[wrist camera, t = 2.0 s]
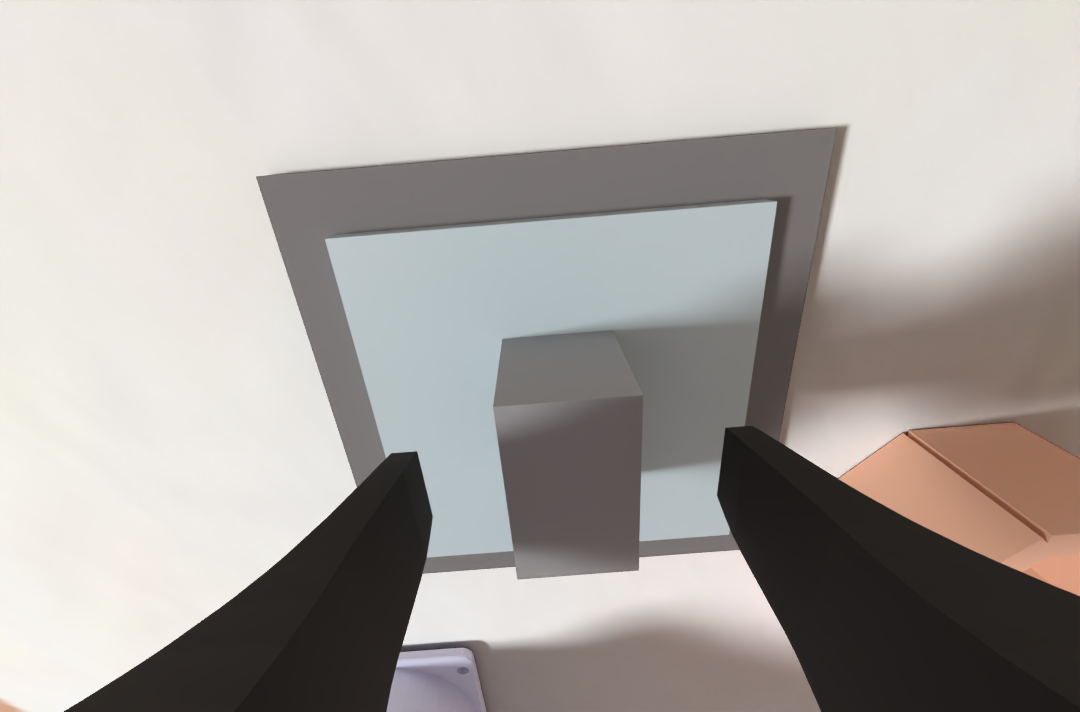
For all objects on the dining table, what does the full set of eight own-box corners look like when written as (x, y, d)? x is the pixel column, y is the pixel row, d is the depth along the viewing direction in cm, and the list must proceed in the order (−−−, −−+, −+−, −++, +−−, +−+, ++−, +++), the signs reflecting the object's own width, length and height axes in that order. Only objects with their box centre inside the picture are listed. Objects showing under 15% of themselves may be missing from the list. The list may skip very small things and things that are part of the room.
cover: (722, 521, 16) (781, 635, 12) (418, 544, 16) (384, 664, 12) (765, 198, 11) (884, 222, 7) (334, 234, 11) (239, 276, 8)
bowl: (997, 594, 19) (1128, 718, 15) (785, 610, 19) (856, 738, 15) (1094, 416, 15) (1309, 516, 11) (827, 436, 15) (940, 543, 11)
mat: (752, 537, 17) (758, 548, 16) (389, 565, 17) (386, 576, 17) (824, 128, 11) (836, 127, 10) (267, 175, 11) (256, 177, 11)
